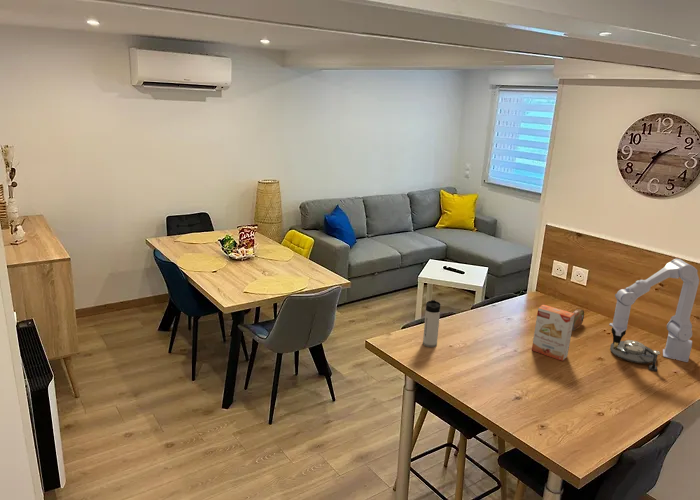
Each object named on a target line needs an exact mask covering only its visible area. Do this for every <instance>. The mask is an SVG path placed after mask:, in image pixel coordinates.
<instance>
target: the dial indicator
mask: <svg viewBox="0 0 700 500" xmlns="http://www.w3.org/2000/svg"><path fill="white" fill-rule="evenodd" d="M646 352H649V353H650V354H652V355H654V358H653V362H652V363H651V364H648V371H653V372H658V366H656V365H657V360H658V355H660V354H661V352H660V351H659V350H655V349H653V352H652V351H651V350H649V349H647V348H645V351H644V354H645V355H646Z"/></svg>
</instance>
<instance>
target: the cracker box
mask: <svg viewBox="0 0 700 500" xmlns="http://www.w3.org/2000/svg"><path fill="white" fill-rule="evenodd" d="M574 316H575V314H574V313H572V312H571V311H566V310H564V309H560V308H556V307H553V306H550V305H546V304H541V305H540V306H539V307H538V309H537V314H536V320H535V327H534V331H533V339H532V347H531V351H533V352H534V353H535V352H536V353H539V354H540V355H544V356H547V357H550V358H552V359H556V360H559V361H560V362H561V361H562V362H564V361H565V360H566V359H567V357H568V354H569V350H570V343H571V337H572V331H573V330H572V327H573V322H574Z"/></svg>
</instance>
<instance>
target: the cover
mask: <svg viewBox="0 0 700 500" xmlns="http://www.w3.org/2000/svg"><path fill="white" fill-rule="evenodd" d="M624 341H625V342H624V346H623V349H624V350H625V351H626V352H628V353H631V354H635V355H641V354H643V353H644V348H645V346H646V345H645V344H643V343H642V342H640V341H637V340H631V339H627V340H624Z"/></svg>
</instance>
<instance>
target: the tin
mask: <svg viewBox="0 0 700 500" xmlns="http://www.w3.org/2000/svg"><path fill="white" fill-rule="evenodd" d="M571 313H574V314H575V316H574V322H573V327H572V331H576V330H577V329H578V328H579V327H581V326H582V324H583V322H584V318H585V311H584V310H583V309H580V308H577V309H575V310H574V311H572V312H571Z"/></svg>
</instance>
